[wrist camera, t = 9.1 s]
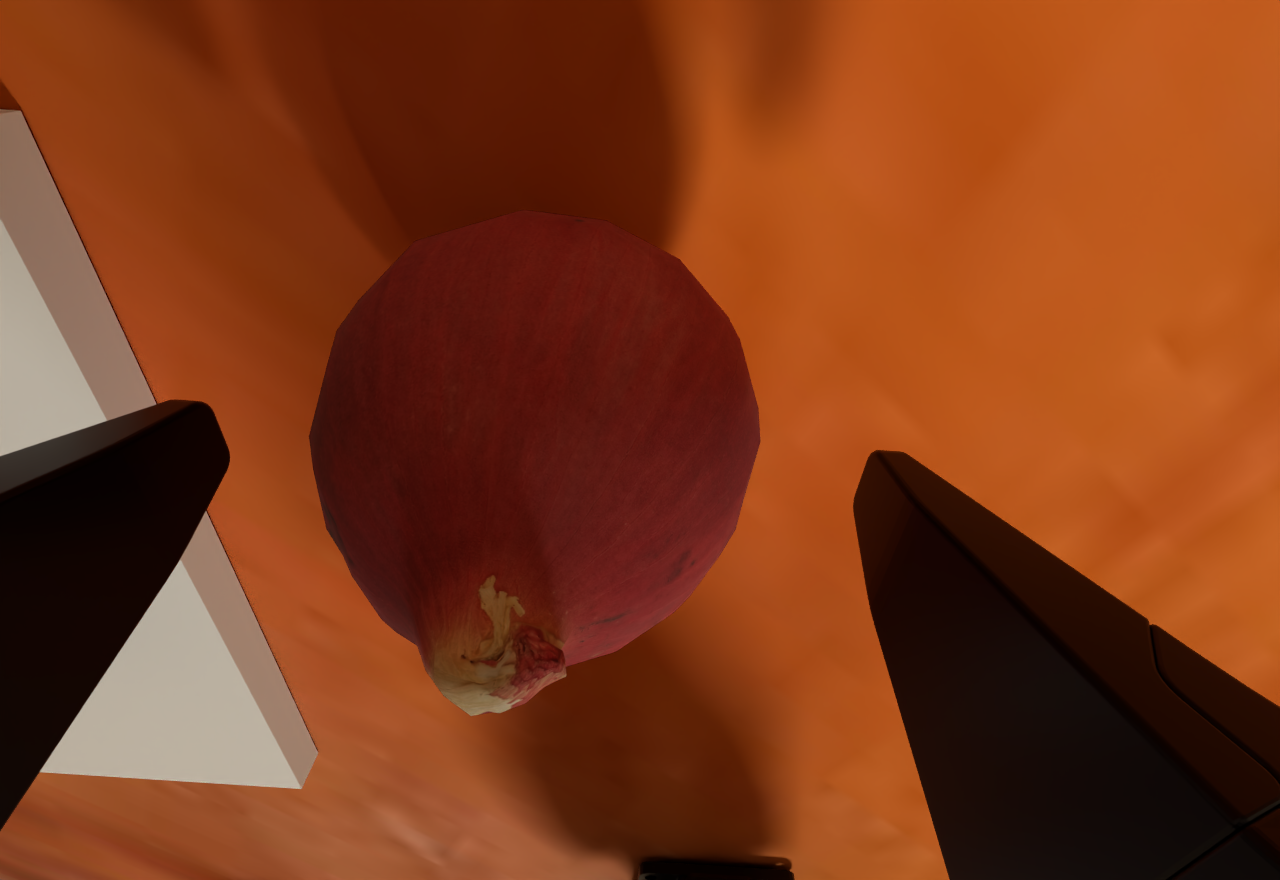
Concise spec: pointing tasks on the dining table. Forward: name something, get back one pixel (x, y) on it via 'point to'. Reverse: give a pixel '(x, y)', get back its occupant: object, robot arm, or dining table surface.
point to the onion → (531, 447)
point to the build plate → (203, 579)
